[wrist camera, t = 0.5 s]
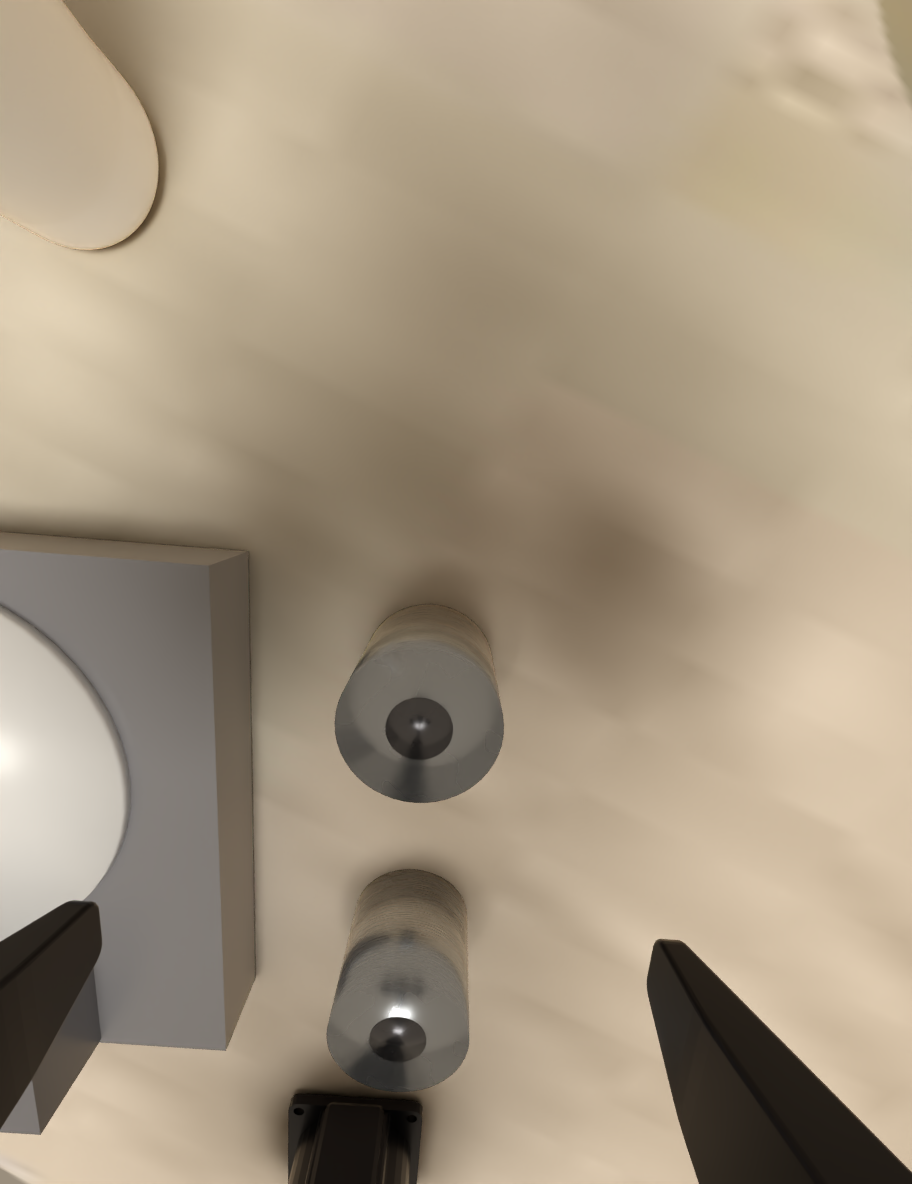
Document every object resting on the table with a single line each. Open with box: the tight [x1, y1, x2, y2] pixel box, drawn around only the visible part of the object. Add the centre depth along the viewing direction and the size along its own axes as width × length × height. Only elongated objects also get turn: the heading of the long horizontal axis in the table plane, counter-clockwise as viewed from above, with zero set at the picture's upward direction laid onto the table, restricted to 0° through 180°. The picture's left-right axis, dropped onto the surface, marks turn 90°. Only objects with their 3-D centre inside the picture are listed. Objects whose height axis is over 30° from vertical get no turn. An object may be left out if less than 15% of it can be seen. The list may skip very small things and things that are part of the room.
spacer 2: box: [327, 869, 469, 1092], centre depth 20 cm, size 5×5×5 cm
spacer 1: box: [335, 604, 504, 803], centre depth 17 cm, size 5×5×5 cm
